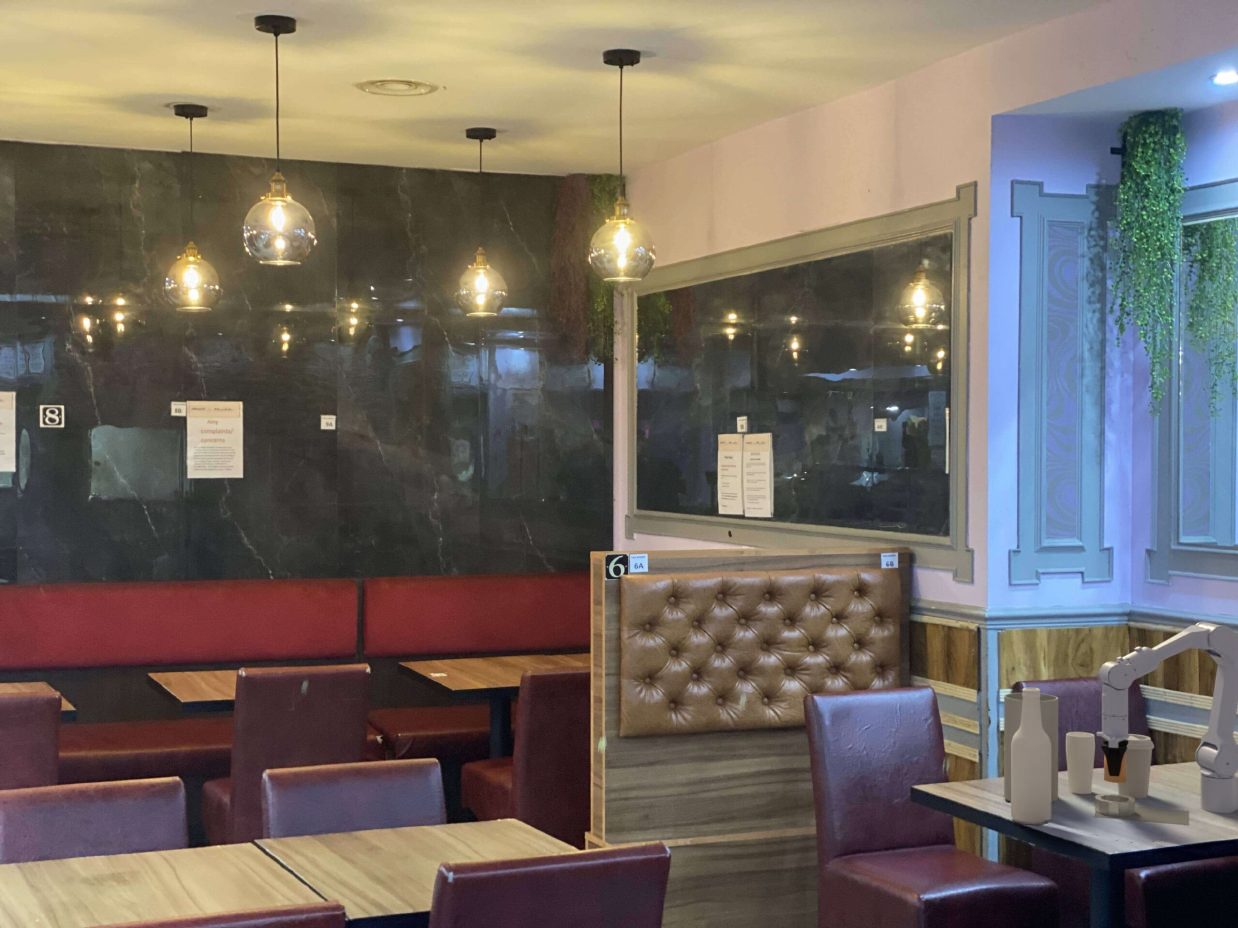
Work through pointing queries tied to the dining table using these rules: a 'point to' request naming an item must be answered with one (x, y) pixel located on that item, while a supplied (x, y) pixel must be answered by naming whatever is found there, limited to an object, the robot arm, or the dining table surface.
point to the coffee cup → (1137, 767)
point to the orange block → (1115, 779)
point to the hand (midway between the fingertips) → (1114, 773)
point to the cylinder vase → (1012, 726)
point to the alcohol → (1031, 765)
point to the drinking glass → (1080, 761)
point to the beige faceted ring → (1115, 805)
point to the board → (1154, 815)
